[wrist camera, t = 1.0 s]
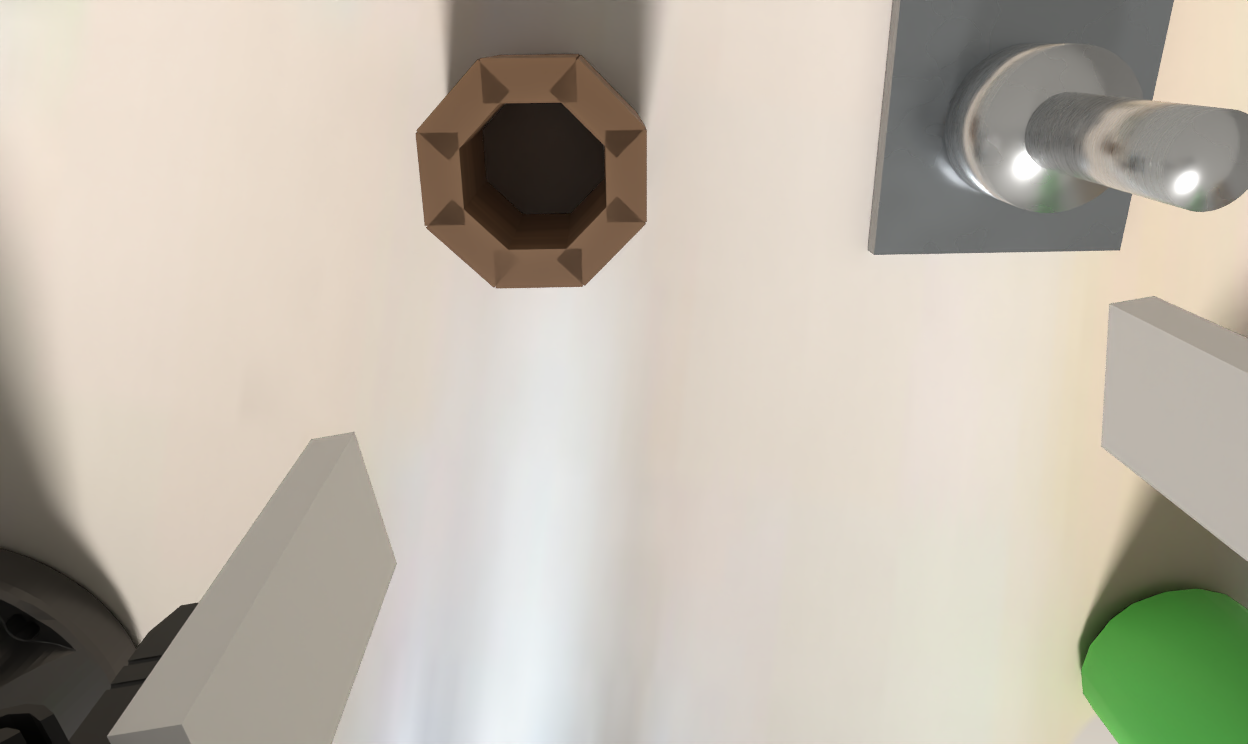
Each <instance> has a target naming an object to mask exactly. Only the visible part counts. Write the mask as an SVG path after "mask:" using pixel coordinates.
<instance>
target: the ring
mask: <svg viewBox="0 0 1248 744" xmlns="http://www.w3.org/2000/svg"><path fill="white" fill-rule="evenodd" d="M506 103H562V104H563V105H564V106H565V107H566V108H567V109H568V110H569V111H570V112H571V113H572V114H573V115H574V116H575V117H576V118H577V119H578V120H579V121H580V122H581V123H582V124H583V125H584V126H585V127H586V128H587V129H588V130H589V131H590V132H591V133H592V134H593V135H594V136H595V137H596V138H597V139H598V140H599V141H600V142H601V143H602V144H603V145H604V179H603V180H602V181H601V182H600V183H599V184H598V186H597V187H596V188H595V189H594V190H593V191H592V192H591V193H590V194H589V195H588V196H587V197H586V198H585V199H584V200H583V201H582V202H581V203H580V204H579V205H578V207H577V208H576V209H575V210H574V211H573V212H572V213H565V214H522V213H521V212H520V211H519V210H518V209H517V208H516V207H514V206H513V205H512V204H511V203H510V202H509V201H508V200H507V199H506V198H505V197H504V196H503V195H502V194H500V193H499V192H498V191H497V190H496V189H495V188H494V187H493V186H492V185H491V184H490V183H489V182H488V181H486V171H485V157H484V142H483V128H484V127H485V126H486V125H487V124H488V123H489V122H490V121H491V119H492V118H493V117H494V116H495V115H496V114H497V113H498V112H499V110H500V109H501V108H502V107H503V106H504V105H505V104H506ZM416 142H417V152H418V162H419V172H420V182H421V192H422V202H423V212H424V222H425V226H427V227H426V228H427V229H428V230H429V231H430V232H431V233H432V234H434V235H435V236H436V237H437V238H438V239H439V240H440V241H442V242H443V243H444V244H445V245H446V246H447V247H448V248H449V249H451V250H452V251H453V252H454V253H455V254H456V255H457V256H459V257H460V258H461V259H462V260H463V261H464V262H465V263H466V264H468V265H469V266H470V267H471V268H472V269H473V270H474V271H476V272H477V273H478V274H479V275H480V276H481V277H482V278H483V279H485V280H486V281H487V282H488V283H489V284H490V285H491V286H493V287H495V286H496V288H541V287H583V285H584V286H585V285H586V284H587V283H588V282H589V281H590V280H591V279H592V278H593V277H594V276H595V275H596V274H597V273H598V272H599V271H600V270H601V269H602V268H603V267H604V266H605V265H606V264H607V263H608V262H609V261H610V260H611V259H612V258H613V257H614V256H615V255H616V254H617V253H618V252H619V251H620V250H621V249H622V248H623V247H624V245H625V244H626V243H627V242H628V241H629V240H630V239H631V238H632V237H633V236H634V235H635V234H636V233H637V232H638V231H639V230H640V229H641V228H642V227H643V226H644V225H645V224H646V223H645V222H647V130H646V127H645V126H644V124H643V122H642V120H641V119H640V117H639V115H638V114H637V112H636V111H635V110H634V109H633V108H632V107H631V106H630V105H629V104H628V103H627V102H626V101H625V100H624V99H623V98H622V97H621V96H620V94H619V93H618V92H617V91H616V90H615V89H614V88H613V87H612V86H611V85H610V84H609V83H608V82H607V81H606V80H605V79H604V78H603V77H602V76H601V75H600V74H599V73H598V72H597V71H596V70H595V69H594V68H593V67H592V66H591V65H590V64H589V63H588V62H587V61H586V60H585V59H584V57H583V56H582V55H580V56H579V54H536V55H497V56H491V57H485V58H480V59H478V60H477V61H476V62H475V63H474V64H473V65H472V67H471V68H470V69H469V70H468V71H467V72H466V74H465V75H464V76H463V77H462V78H461V79H460V80H459V82H458V83H457V84H456V85H455V86H454V87H453V89H452V90H451V91H450V92H449V93H448V94H447V96H446V97H445V98H444V99H443V100H442V101H441V103H440V104H439V105H438V106H437V107H436V108H435V110H434V111H433V112H432V113H431V114H430V115H429V117H428V118H427V119H426V120H425V121H424V122H423V124H422V125H421V126H420V127H419V128H418V129H417V133H416Z"/></svg>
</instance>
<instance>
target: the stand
mask: <svg viewBox="0 0 1248 744" xmlns="http://www.w3.org/2000/svg"><path fill="white" fill-rule="evenodd" d="M1173 2H1174V0H893V5H892V15H891V24H890V34H889V44H888V54H887V64H886V74H885V84H884V94H883V104H882V113H881V123H880V133H879V143H878V153H877V163H876V173H875V183H874V193H873V202H872V212H871V222H870V232H869V242H868V251H870V252H871V253H872V254H874V255H887V254H942V253H996V252H1051V251H1105V250H1120V247H1121V242H1122V238H1123V233H1124V229H1125V224H1126V219H1127V215H1128V210H1129V205H1130V201H1131V196H1132V194H1135V195H1138V196H1142V197H1145V198H1148V199H1152V200H1155V201H1159V202H1162V203H1166V204H1169V205H1173V206H1176V207H1180V208H1183V209H1187V210H1190V211H1196V212H1205V211H1212V210H1216V209H1219V208H1222V207H1224V206H1226V205H1228V204H1230V203H1231V202H1233V201H1234V200H1236V199H1237V198H1239V197H1240V196H1241V195H1242V194H1243V193H1244V192H1245V191H1246V190H1247V189H1248V114H1246V113H1244V112H1242V111H1238V110H1233V109H1224V108H1215V107H1206V106H1197V105H1188V104H1179V103H1170V102H1161V101H1152V99H1153V95H1154V90H1155V85H1156V81H1157V76H1158V71H1159V67H1160V62H1161V58H1162V53H1163V48H1164V44H1165V39H1166V34H1167V30H1168V25H1169V21H1170V16H1171V11H1172V7H1173Z"/></svg>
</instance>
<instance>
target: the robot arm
mask: <svg viewBox="0 0 1248 744" xmlns="http://www.w3.org/2000/svg"><path fill="white" fill-rule="evenodd" d="M1101 447H1103V448H1104V449H1105V450H1106V451H1108V452H1109V453H1110V454H1111V455H1113V456H1114V457H1115V458H1117V459H1118V460H1119V461H1120V462H1122V463H1123V464H1124V465H1125V466H1127V467H1128V468H1129V469H1131V470H1132V471H1133V472H1134V473H1136V474H1137V475H1138V476H1139V477H1141V478H1142V479H1143V480H1145V481H1146V482H1147V483H1148V484H1150V485H1151V486H1152V487H1153V488H1155V489H1156V490H1157V491H1159V492H1160V493H1161V494H1162V495H1164V496H1165V497H1166V498H1167V499H1169V500H1170V501H1171V502H1173V503H1174V504H1175V505H1176V506H1178V507H1179V508H1180V509H1181V510H1183V511H1184V512H1185V513H1186V514H1188V515H1189V516H1190V517H1192V518H1193V519H1194V520H1195V521H1197V522H1198V523H1199V524H1200V525H1202V526H1203V527H1204V528H1206V529H1207V530H1208V531H1209V532H1211V533H1212V534H1213V535H1214V536H1216V537H1217V538H1218V539H1220V540H1221V541H1222V542H1223V543H1225V544H1226V545H1227V546H1228V547H1230V548H1231V549H1232V550H1234V551H1235V552H1236V553H1237V554H1239V555H1240V556H1241V557H1242V558H1244V559H1245V560H1246V561H1248V338H1246V337H1244V336H1242V335H1240V334H1238V333H1235V332H1233V331H1231V330H1229V329H1226V328H1224V327H1222V326H1220V325H1217V324H1215V323H1213V322H1211V321H1209V320H1206V319H1204V318H1202V317H1200V316H1197V315H1195V314H1193V313H1191V312H1189V311H1186V310H1184V309H1182V308H1180V307H1177V306H1175V305H1173V304H1171V303H1168V302H1166V301H1164V300H1162V299H1160V298H1157V297H1155V296H1152V297H1147V298H1141V299H1135V300H1129V301H1123V302H1117V303H1111V304H1109V320H1108V337H1107V355H1106V372H1105V390H1104V407H1103V425H1102V442H1101ZM396 564H397V563H396V560H395V557H394V554H393V550H392V547H391V544H390V541H389V538H388V535H387V532H386V529H385V525H384V522H383V519H382V516H381V513H380V510H379V507H378V504H377V501H376V497H375V494H374V491H373V488H372V485H371V482H370V479H369V476H368V472H367V469H366V466H365V463H364V460H363V457H362V454H361V451H360V448H359V444H358V441H357V438H356V435H355V432H352V433H346V434H340V435H334V436H328V437H322V438H316V439H311V441H310V442H309V444H308V445H307V446H306V448H305V449H304V451H303V452H302V454H301V455H300V457H299V458H298V459H297V461H296V462H295V464H294V465H293V467H292V468H291V470H290V471H289V473H288V474H287V475H286V477H285V478H284V480H283V481H282V483H281V484H280V486H279V487H278V489H277V490H276V491H275V493H274V494H273V496H272V497H271V499H270V500H269V502H268V503H267V505H266V506H265V507H264V509H263V510H262V512H261V513H260V515H259V516H258V518H257V519H256V520H255V522H254V523H253V525H252V526H251V528H250V529H249V531H248V532H247V534H246V535H245V536H244V538H243V539H242V541H241V542H240V544H239V545H238V547H237V548H236V550H235V551H234V552H233V554H232V555H231V557H230V558H229V560H228V561H227V563H226V564H225V566H224V567H223V568H222V570H221V571H220V573H219V574H218V576H217V577H216V579H215V580H214V581H213V583H212V584H211V586H210V587H209V589H208V590H207V592H206V593H205V595H204V596H203V597H202V599H201V600H200V602H199V603H193V604H187V605H181V606H180V607H179V608H177V609H176V610H175V611H174V612H173V613H171V614H170V615H169V616H168V617H167V618H165V619H164V620H163V621H162V622H161V623H159V624H158V625H157V626H156V627H154V628H153V629H152V630H151V631H150V632H149V633H148V634H147V635H146V637H145V638H144V639H143V641H142V642H141V643H140V645H139V646H138V647H137V649H136V648H135V646H134V644H133V642H132V640H131V639H130V637H129V636H128V634H127V632H126V631H125V630H124V628H123V627H122V626H121V624H120V623H119V622H118V620H117V619H116V618H115V617H114V616H113V615H112V613H111V612H110V611H109V610H108V609H107V608H106V607H105V606H104V605H103V604H102V603H101V602H99V601H98V600H97V599H96V598H95V597H94V596H93V595H91V594H90V593H89V592H88V591H86V590H85V589H84V588H82V587H81V586H80V585H78V584H77V583H75V582H74V581H72V580H71V579H69V578H68V577H66V576H64V575H63V574H61V573H59V572H57V571H56V570H54V569H52V568H50V567H48V566H46V565H44V564H42V563H40V562H37V561H35V560H32V559H30V558H28V557H25V556H22V555H19V554H17V553H14V552H10V551H7V550H4V549H0V744H332V741H333V738H334V736H335V733H336V730H337V727H338V724H339V722H340V719H341V716H342V713H343V711H344V708H345V705H346V702H347V700H348V697H349V694H350V691H351V689H352V686H353V683H354V680H355V677H356V675H357V672H358V669H359V666H360V664H361V661H362V658H363V655H364V653H365V650H366V647H367V644H368V641H369V639H370V636H371V633H372V630H373V628H374V625H375V622H376V619H377V617H378V614H379V611H380V608H381V606H382V603H383V600H384V597H385V594H386V592H387V589H388V586H389V583H390V581H391V578H392V575H393V572H394V570H395V567H396Z"/></svg>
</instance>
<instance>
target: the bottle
mask: <svg viewBox="0 0 1248 744" xmlns="http://www.w3.org/2000/svg"><path fill="white" fill-rule="evenodd" d="M1081 675H1082V687H1083V694H1084V695H1085V697H1086V699H1087V700H1088V702H1089V703H1090V705H1091V706H1092V708H1093V709H1094V711H1095V712H1096V714H1097V715H1098V716H1099V718H1100V719H1101V721H1102V722H1103V723H1104V725H1105V726H1106V727H1107V729H1108V730H1109V731H1110V733H1111V734H1112V735H1113V737H1114V738H1115V739H1116V741H1117V742H1118V743H1119V744H1248V609H1246V608H1245V607H1244V606H1242V605H1241V604H1239V603H1238V602H1236V601H1235V600H1233V599H1232V598H1231V597H1229V596H1228V595H1226V594H1222V593H1217V592H1212V591H1208V590H1203V589H1188V590H1178V591H1168V592H1164V593H1161V594H1157V595H1155V596H1152V597H1149V598H1146V599H1144V600H1141V601H1138V602H1136V603H1133V604H1131V605H1130V606H1128V607H1127V608H1126V609H1124V610H1123V611H1122V612H1120V613H1119V614H1118V615H1116V616H1115V617H1113V618H1112V619H1111V620H1110V621H1109V622H1108V624H1107V625H1106V626H1105V627H1104V629H1103V630H1102V631H1101V632H1100V634H1099V635H1098V636H1097V637H1096V639H1095V640H1094V641H1093V642H1092V644H1091V645H1090V647H1089V649H1088V652H1087V655H1086V658H1085V661H1084V663H1083V666H1082V669H1081Z"/></svg>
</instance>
